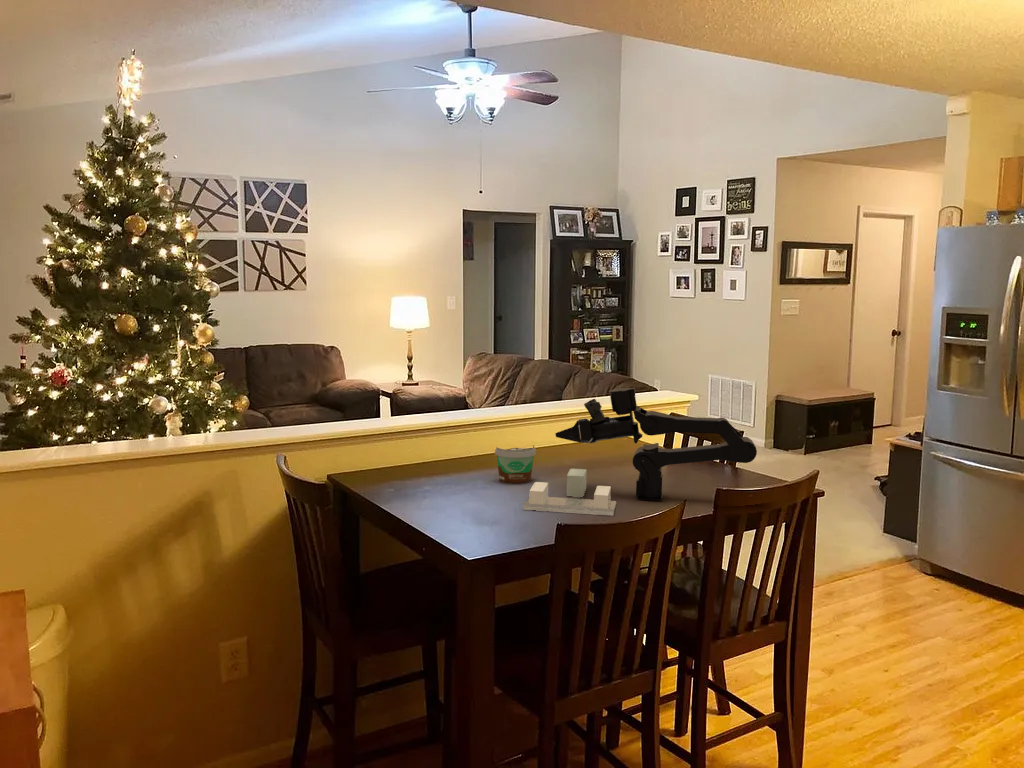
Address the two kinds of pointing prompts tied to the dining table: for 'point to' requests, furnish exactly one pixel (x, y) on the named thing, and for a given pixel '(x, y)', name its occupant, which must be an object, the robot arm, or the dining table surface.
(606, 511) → the rail plate
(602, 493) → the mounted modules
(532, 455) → the food container
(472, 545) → the dining table surface
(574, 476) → the block
